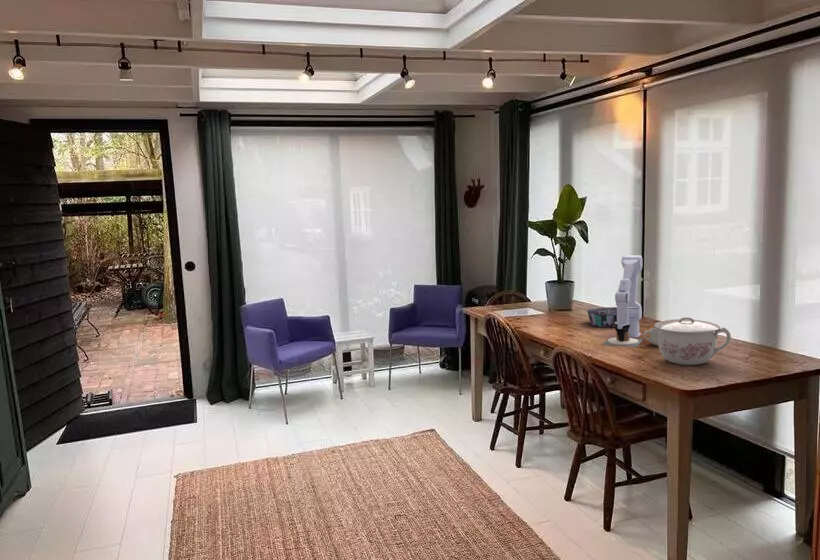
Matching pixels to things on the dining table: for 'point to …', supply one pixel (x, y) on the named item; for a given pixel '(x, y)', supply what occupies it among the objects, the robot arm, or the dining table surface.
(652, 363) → the dining table surface
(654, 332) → the teacup
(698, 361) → the chamber pot
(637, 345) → the mat
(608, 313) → the decorative bowl
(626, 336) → the lid
